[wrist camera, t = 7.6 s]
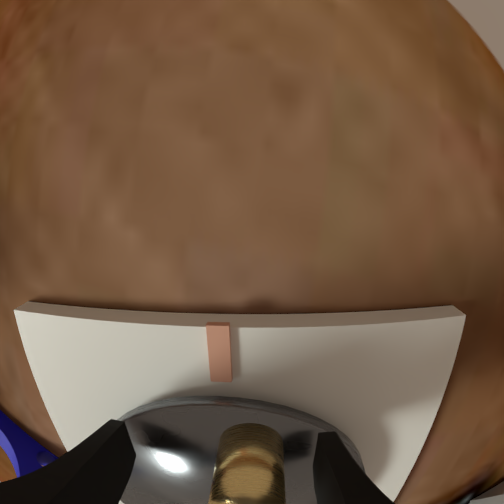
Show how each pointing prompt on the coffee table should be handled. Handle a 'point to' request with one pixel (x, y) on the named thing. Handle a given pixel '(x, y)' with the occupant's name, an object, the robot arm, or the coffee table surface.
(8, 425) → the cable clip
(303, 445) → the handwheel
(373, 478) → the wheel base
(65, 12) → the coffee table surface
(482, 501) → the die
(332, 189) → the coffee table surface
